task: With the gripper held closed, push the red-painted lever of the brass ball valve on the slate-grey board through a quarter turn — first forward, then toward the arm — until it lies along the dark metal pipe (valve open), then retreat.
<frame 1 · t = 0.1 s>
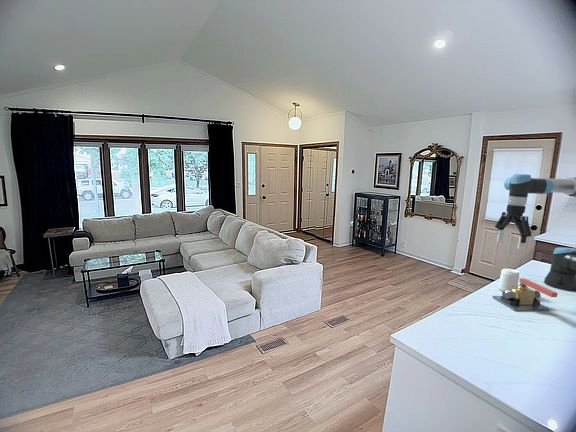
hand: (509, 245, 155), 28 cm above the kitchen island, fingers open, 13 cm apart
beverage can: (507, 291, 167), on the kitchen island
valve fixture: (519, 304, 151), on the kitchen island
lever: (536, 288, 142), point 12 cm above the kitchen island, hinge at 90.0°
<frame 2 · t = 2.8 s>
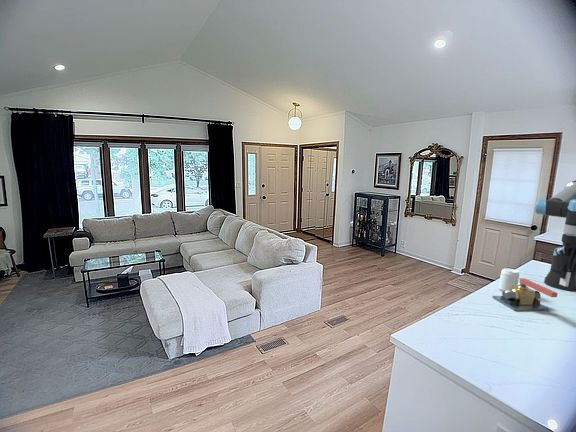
hand: (563, 285, 136), 16 cm above the kitchen island, fingers closed
nothing on the kitchen island moved.
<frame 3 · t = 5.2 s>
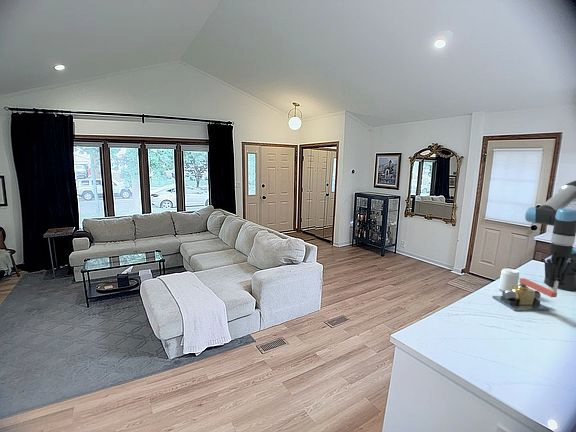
hand: (551, 293, 136), 12 cm above the kitchen island, fingers closed
lever: (536, 288, 142), point 12 cm above the kitchen island, hinge at 89.2°, touching gripper
everything else where it was.
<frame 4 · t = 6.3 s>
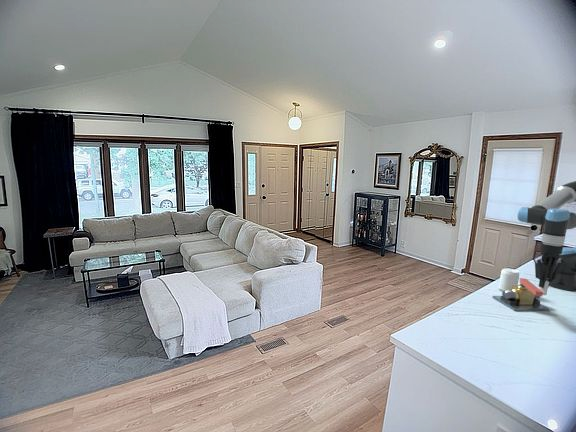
hand: (542, 293, 136), 11 cm above the kitchen island, fingers closed
lever: (530, 288, 142), point 12 cm above the kitchen island, hinge at 67.2°, touching gripper
everything else where it was.
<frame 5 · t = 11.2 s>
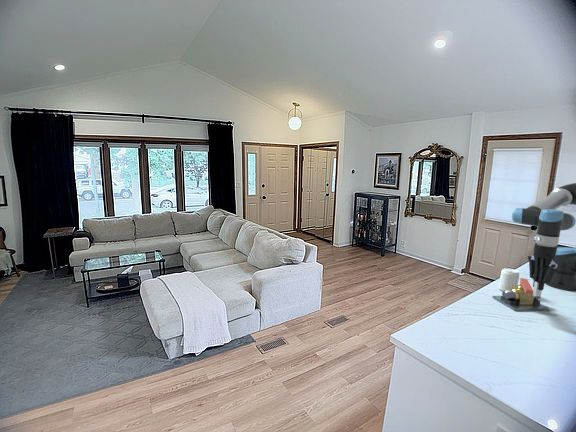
hand: (536, 295, 134), 11 cm above the kitchen island, fingers closed
lever: (526, 287, 143), point 12 cm above the kitchen island, hinge at 54.7°, touching gripper
everything else where it was.
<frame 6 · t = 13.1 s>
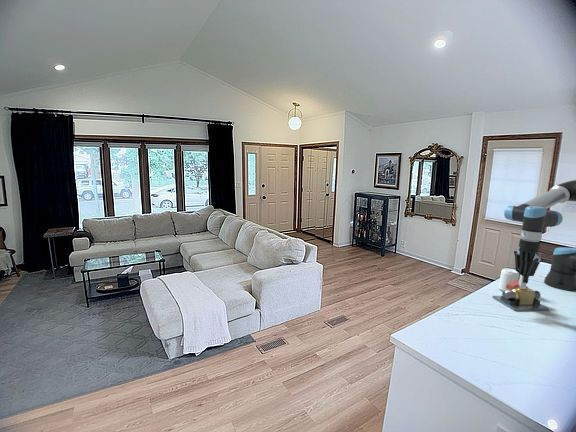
hand: (521, 288, 142), 11 cm above the kitchen island, fingers closed
lever: (517, 285, 145), point 12 cm above the kitchen island, hinge at 27.8°, touching gripper
everything else where it was.
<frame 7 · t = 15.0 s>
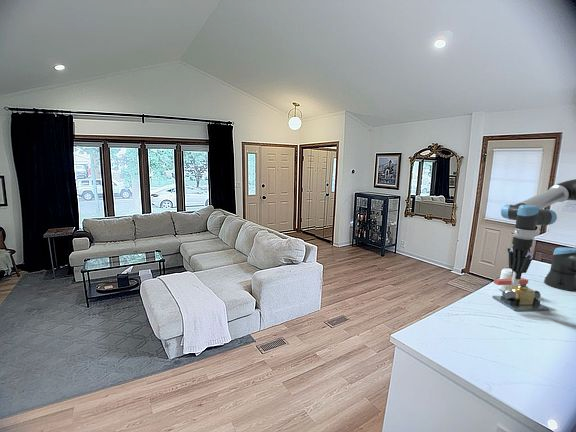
hand: (514, 284, 146), 12 cm above the kitchen island, fingers closed
lever: (510, 282, 148), point 12 cm above the kitchen island, hinge at 5.2°, touching gripper
everything else where it was.
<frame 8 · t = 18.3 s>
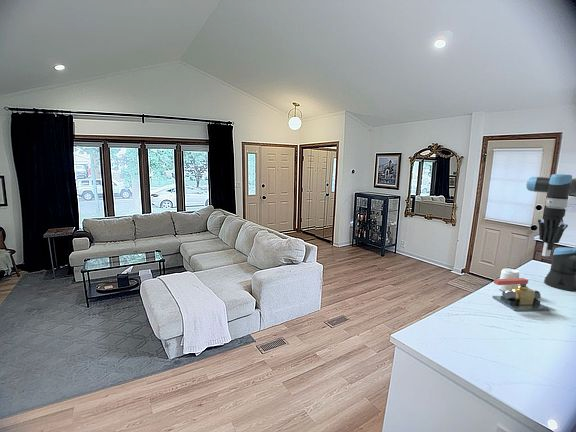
hand: (545, 255, 144), 26 cm above the kitchen island, fingers closed
lever: (510, 282, 148), point 12 cm above the kitchen island, hinge at 5.2°
everything else where it was.
at the end: lever at +5° (first picture: +90°) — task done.
